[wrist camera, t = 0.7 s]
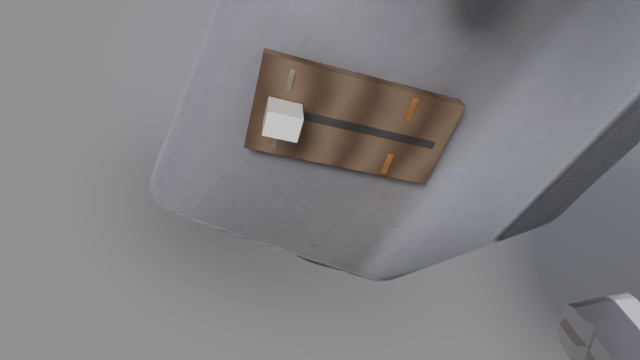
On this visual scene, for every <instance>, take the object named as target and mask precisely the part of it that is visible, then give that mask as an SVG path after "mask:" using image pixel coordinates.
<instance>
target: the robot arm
mask: <svg viewBox="0 0 640 360" xmlns="http://www.w3.org/2000/svg"><path fill="white" fill-rule="evenodd" d="M562 313H563V315H564V316H565V319H564V320H563V321H562V322H560V324H559V329H558V333H559V336H560V341H561V343H562V346H563V348H564V350H565V351H566V353H567V355H568V356H569V358H570V359H571V360H640V302H639V301H638V300H637V299H636V298H635V297H634V296H632V295H631V294H629V293H619V294H614V295H609V296H603V297H598V298H593V299H588V300H584V301H580V302H575V303H570V304H567V305H565V306H564V307H563V311H562Z"/></svg>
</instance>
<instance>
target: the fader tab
mask: <svg viewBox="0 0 640 360" xmlns="http://www.w3.org/2000/svg"><path fill="white" fill-rule="evenodd" d="M303 121H304V115H303V106H302V104H299V103H295V102H291V101H286V100H282V99H278V98H274V97H269V96H268V101H267V105H266V110H265V114H264V118H263V128H262V136H266V137H271V138H276V139H280V140H285V141H290V142H294V143H297V142H298V138H299V135H300V131H301V128H302V124H303Z"/></svg>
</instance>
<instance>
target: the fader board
mask: <svg viewBox="0 0 640 360" xmlns="http://www.w3.org/2000/svg"><path fill="white" fill-rule="evenodd" d="M268 96H269V97H274V98H278V99H282V100H286V101H291V102H295V103H299V104H302V106H303V115H304V121H303V124H302V128H301V131H300V135H299V138H298V142H297V143H294V142H290V141H285V140H280V139H276V138H271V137H266V136H262V128H263V118H264V114H265V110H266V105H267V101H268ZM465 107H466V106H465V105H464V104H463V103H462V102H461V100H459V99H455V98H451V97H447V96H444V95H440V94H436V93H432V92H428V91H425V90H421V89H417V88H413V87H409V86H405V85H402V84H398V83H394V82H390V81H386V80H383V79H379V78H375V77H371V76H367V75H364V74H360V73H356V72H352V71H348V70H345V69H341V68H337V67H333V66H329V65H325V64H322V63H318V62H314V61H310V60H306V59H303V58H299V57H295V56H291V55H287V54H284V53H280V52H276V51H272V50H268V49H264V52H263V57H262V62H261V67H260V72H259V76H258V81H257V86H256V91H255V96H254V101H253V105H252V110H251V115H250V120H249V125H248V130H247V134H246V139H245V145H244V148H248V149H253V150H258V151H263V152H268V153H273V154H278V155H283V156H288V157H293V158H298V159H303V160H307V161H312V162H317V163H322V164H327V165H332V166H337V167H342V168H347V169H352V170H357V171H362V172H366V173H371V174H376V175H381V176H386V177H391V178H396V179H401V180H406V181H411V182H416V183H421V184H425V183H426V181H427V179H428V177H429V175H430V173H431V172H432V170H433V168H434V166H435V164H436V162H437V160H438V158H439V156H440V155H441V153H442V151H443V149H444V147H445V145H446V143H447V141H448V139H449V137H450V136H451V134H452V132H453V130H454V128H455V126H456V124H457V122H458V120H459V119H460V117H461V115H462V113H463V111H464V109H465Z"/></svg>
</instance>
